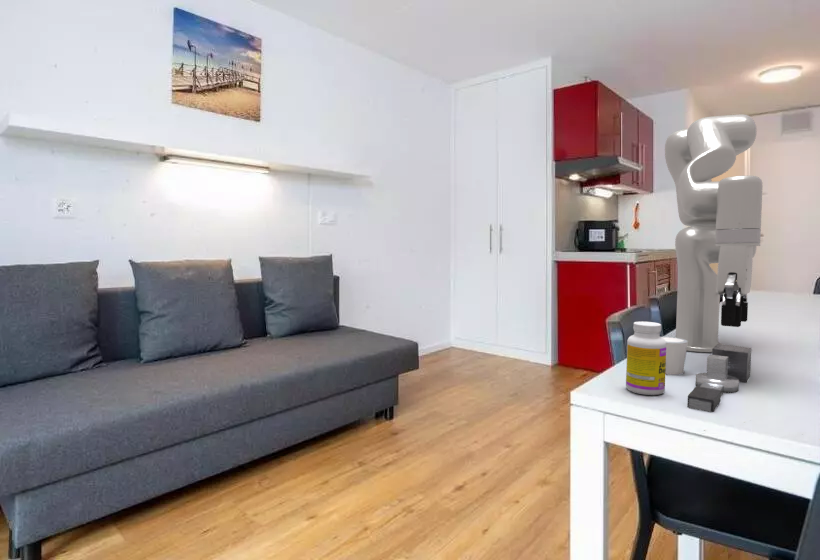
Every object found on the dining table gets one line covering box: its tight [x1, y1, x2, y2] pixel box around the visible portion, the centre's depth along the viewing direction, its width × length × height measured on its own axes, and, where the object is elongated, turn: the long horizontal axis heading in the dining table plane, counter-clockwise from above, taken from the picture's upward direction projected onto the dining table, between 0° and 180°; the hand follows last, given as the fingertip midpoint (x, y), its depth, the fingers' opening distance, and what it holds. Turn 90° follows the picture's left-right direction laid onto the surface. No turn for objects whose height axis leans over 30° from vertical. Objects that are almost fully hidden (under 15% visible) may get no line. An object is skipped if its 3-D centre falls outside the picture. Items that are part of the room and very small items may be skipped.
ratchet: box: [686, 354, 740, 413], centre depth 88 cm, size 20×7×6 cm, turn 139°
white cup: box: [661, 336, 688, 376], centre depth 104 cm, size 7×7×7 cm
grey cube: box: [711, 343, 753, 384], centre depth 100 cm, size 6×6×6 cm
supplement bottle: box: [625, 321, 667, 396], centre depth 91 cm, size 7×7×13 cm
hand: (734, 323), depth 98 cm, fingers open, 9 cm apart
